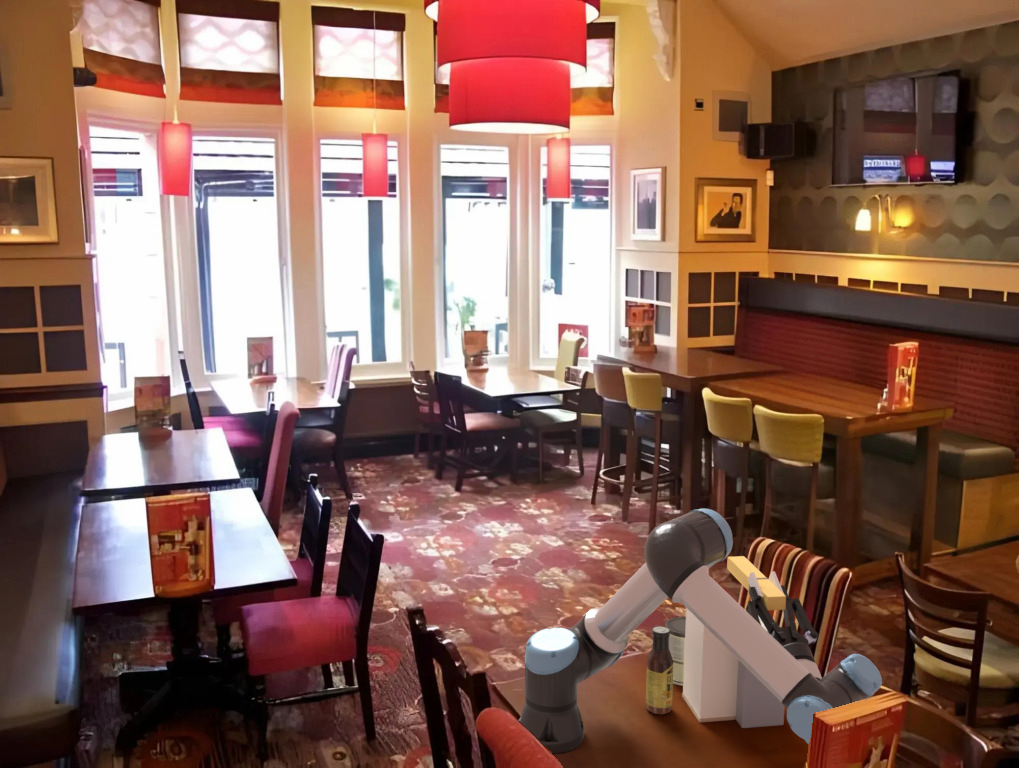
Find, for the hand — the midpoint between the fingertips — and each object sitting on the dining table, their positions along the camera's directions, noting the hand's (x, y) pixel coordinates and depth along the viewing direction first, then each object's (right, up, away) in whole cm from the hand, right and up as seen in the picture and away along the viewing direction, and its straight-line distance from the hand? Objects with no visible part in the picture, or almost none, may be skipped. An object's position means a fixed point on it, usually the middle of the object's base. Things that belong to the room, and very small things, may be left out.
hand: (761, 575), depth 203 cm
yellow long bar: (0, -4, +4) cm, 5 cm away
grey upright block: (+2, -36, +15) cm, 39 cm away
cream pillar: (-8, -35, +18) cm, 40 cm away
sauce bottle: (-20, -35, +17) cm, 44 cm away
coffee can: (-11, -33, +33) cm, 48 cm away
